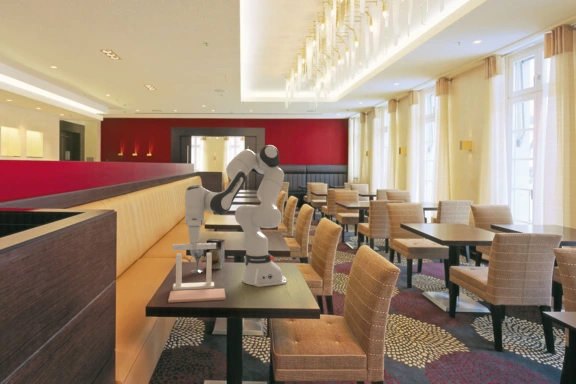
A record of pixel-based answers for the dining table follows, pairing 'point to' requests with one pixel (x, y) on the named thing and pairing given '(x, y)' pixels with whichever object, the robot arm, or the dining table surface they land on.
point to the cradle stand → (200, 285)
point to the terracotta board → (197, 295)
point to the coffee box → (217, 253)
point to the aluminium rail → (190, 246)
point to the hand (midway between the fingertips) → (194, 248)
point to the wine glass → (197, 258)
